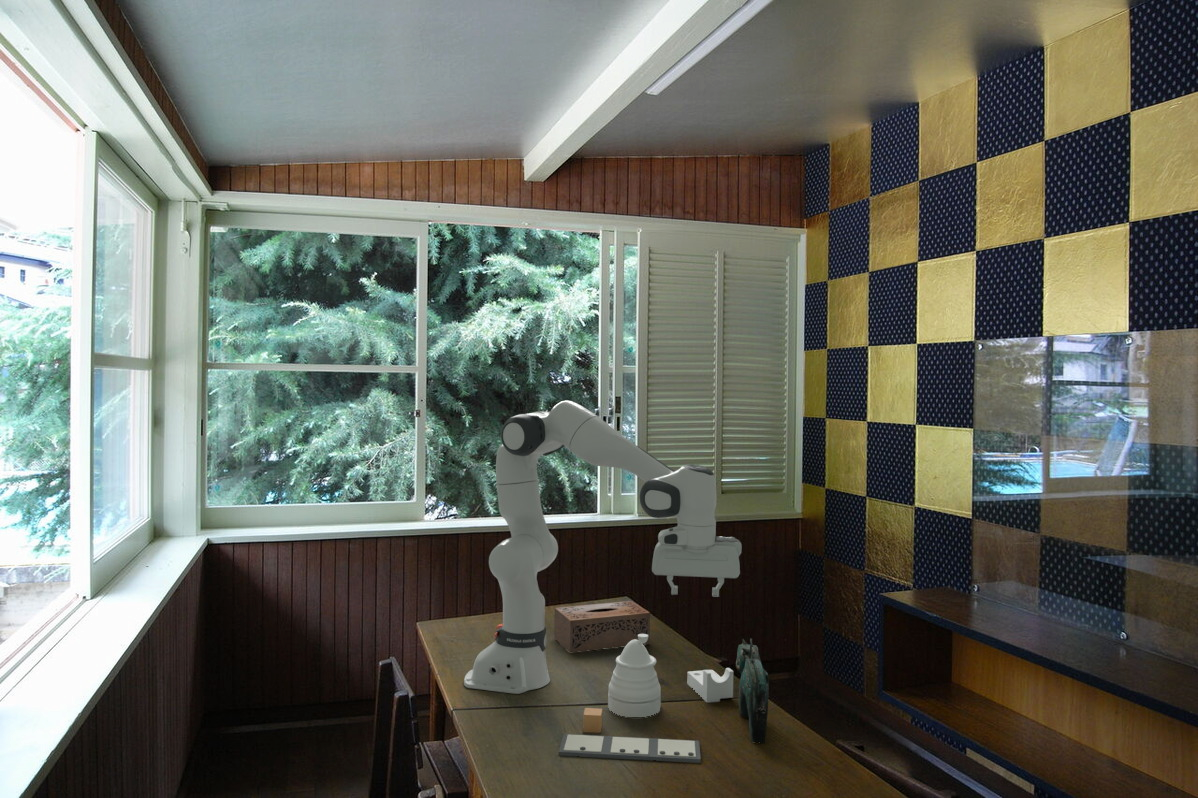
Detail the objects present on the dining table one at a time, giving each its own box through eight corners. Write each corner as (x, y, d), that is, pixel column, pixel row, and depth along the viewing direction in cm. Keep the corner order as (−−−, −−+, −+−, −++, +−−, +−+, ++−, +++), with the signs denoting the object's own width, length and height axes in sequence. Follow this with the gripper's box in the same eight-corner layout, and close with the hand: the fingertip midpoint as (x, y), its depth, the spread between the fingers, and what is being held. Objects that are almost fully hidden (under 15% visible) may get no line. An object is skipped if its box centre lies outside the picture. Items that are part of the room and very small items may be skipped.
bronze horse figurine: (733, 709, 201) (735, 628, 201) (760, 710, 201) (761, 628, 201) (745, 745, 181) (747, 654, 181) (775, 745, 181) (776, 655, 181)
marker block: (583, 732, 187) (583, 714, 187) (584, 724, 191) (585, 707, 191) (600, 733, 186) (601, 715, 186) (602, 725, 190) (602, 708, 190)
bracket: (732, 701, 207) (733, 671, 207) (706, 703, 205) (707, 673, 205) (711, 682, 220) (712, 654, 219) (687, 684, 218) (687, 656, 217)
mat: (558, 755, 175) (558, 749, 175) (563, 737, 184) (563, 732, 184) (700, 763, 172) (700, 757, 172) (698, 744, 181) (699, 738, 181)
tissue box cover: (630, 631, 263) (630, 600, 263) (649, 645, 250) (650, 612, 250) (554, 639, 254) (554, 607, 254) (569, 654, 241) (570, 620, 240)
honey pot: (666, 701, 205) (667, 630, 205) (652, 721, 193) (653, 645, 193) (617, 694, 209) (618, 624, 209) (600, 713, 197) (602, 639, 197)
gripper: (740, 534, 192) (739, 593, 192) (653, 531, 194) (651, 589, 194) (743, 540, 186) (741, 600, 186) (652, 536, 188) (651, 596, 188)
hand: (694, 595), depth 190 cm, fingers open, 8 cm apart
